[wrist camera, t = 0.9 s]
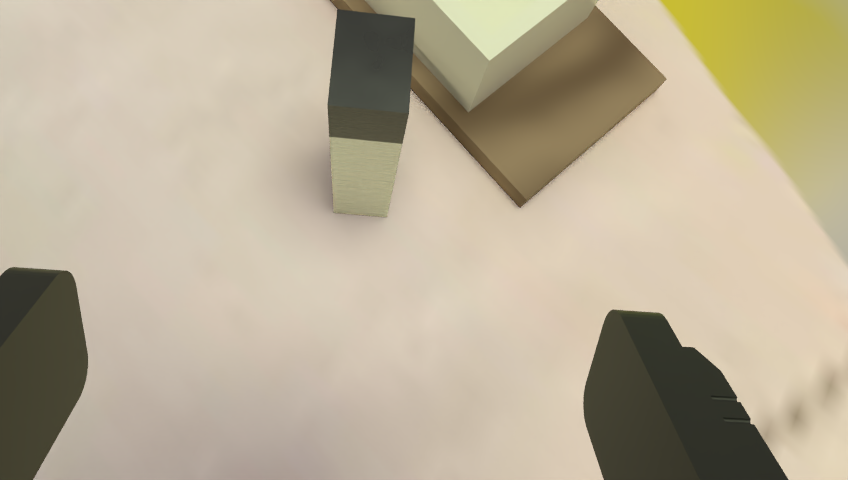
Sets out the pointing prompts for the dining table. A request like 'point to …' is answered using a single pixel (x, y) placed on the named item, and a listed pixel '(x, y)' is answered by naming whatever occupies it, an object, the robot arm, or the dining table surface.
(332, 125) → the grey tall bar
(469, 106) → the pale open square box
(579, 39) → the serving board
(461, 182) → the dining table surface
